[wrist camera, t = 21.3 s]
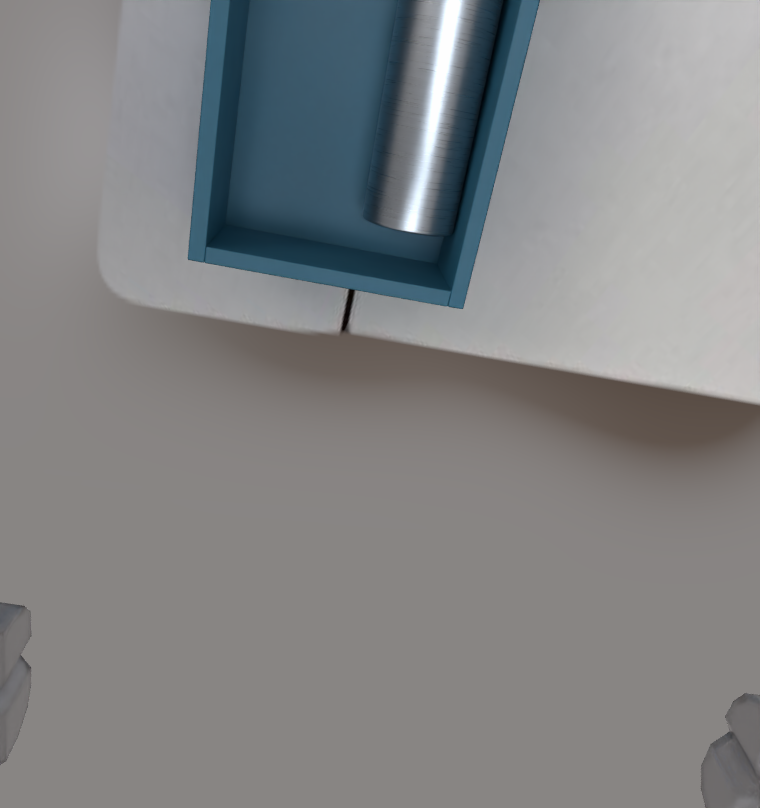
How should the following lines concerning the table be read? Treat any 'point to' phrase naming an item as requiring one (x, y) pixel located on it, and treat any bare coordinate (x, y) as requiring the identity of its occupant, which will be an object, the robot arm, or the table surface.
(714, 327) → the table surface
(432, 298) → the blue open box
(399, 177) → the slim can
